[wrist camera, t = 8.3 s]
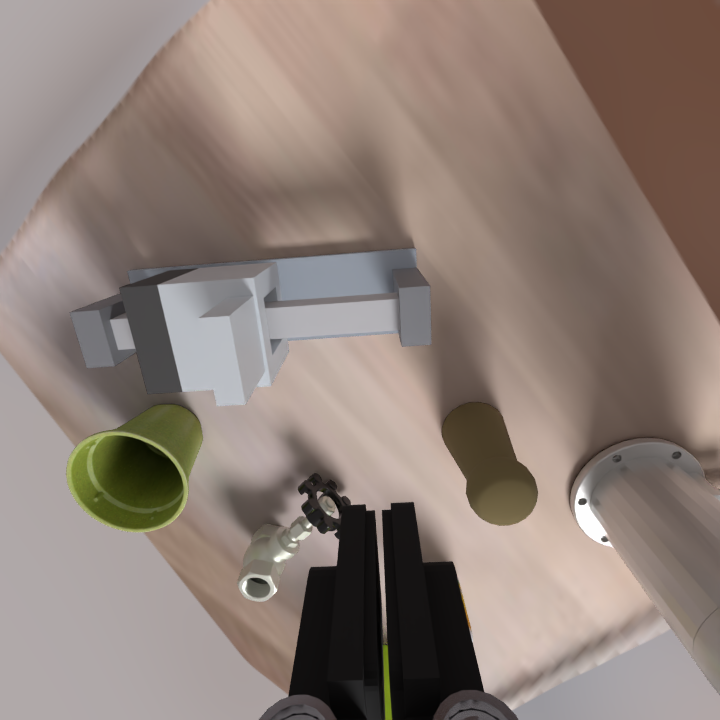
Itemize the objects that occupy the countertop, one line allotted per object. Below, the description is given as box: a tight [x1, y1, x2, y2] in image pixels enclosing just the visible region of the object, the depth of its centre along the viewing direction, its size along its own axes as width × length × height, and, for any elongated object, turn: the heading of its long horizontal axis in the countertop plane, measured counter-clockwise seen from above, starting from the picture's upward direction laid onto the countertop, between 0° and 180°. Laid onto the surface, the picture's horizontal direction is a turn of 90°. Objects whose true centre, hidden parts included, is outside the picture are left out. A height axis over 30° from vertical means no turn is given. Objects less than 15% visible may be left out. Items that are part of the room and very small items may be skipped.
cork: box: [442, 402, 538, 526], centre depth 37 cm, size 6×6×11 cm
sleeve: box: [157, 262, 289, 406], centre depth 29 cm, size 6×7×12 cm
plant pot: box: [66, 404, 203, 532], centre depth 38 cm, size 9×9×9 cm
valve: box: [237, 473, 351, 601], centre depth 43 cm, size 7×7×12 cm
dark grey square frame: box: [119, 268, 198, 394], centre depth 31 cm, size 2×7×7 cm, turn 4°
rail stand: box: [70, 248, 431, 368], centre depth 34 cm, size 24×7×9 cm, turn 94°
